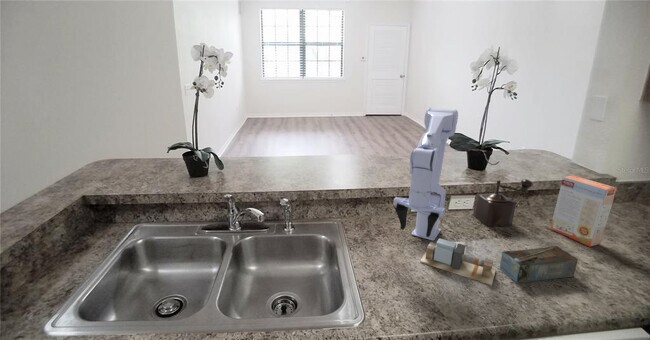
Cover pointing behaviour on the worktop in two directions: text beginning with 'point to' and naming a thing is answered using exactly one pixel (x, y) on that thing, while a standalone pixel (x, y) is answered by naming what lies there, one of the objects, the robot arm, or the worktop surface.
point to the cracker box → (583, 209)
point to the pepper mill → (497, 206)
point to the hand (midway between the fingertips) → (415, 231)
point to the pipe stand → (463, 266)
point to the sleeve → (444, 251)
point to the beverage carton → (538, 264)
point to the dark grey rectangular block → (458, 256)
